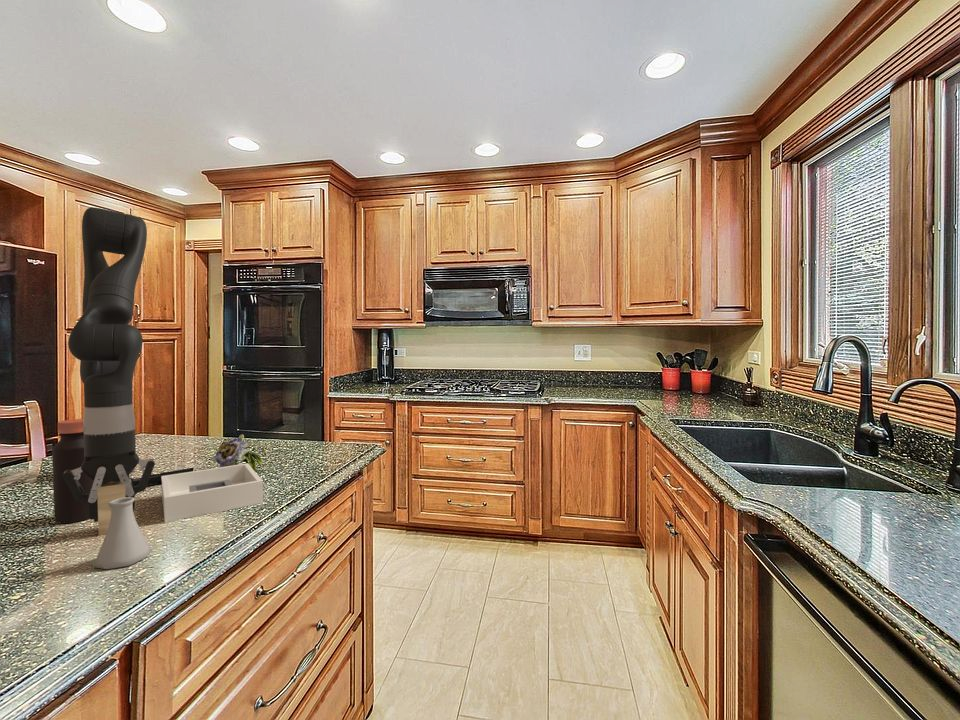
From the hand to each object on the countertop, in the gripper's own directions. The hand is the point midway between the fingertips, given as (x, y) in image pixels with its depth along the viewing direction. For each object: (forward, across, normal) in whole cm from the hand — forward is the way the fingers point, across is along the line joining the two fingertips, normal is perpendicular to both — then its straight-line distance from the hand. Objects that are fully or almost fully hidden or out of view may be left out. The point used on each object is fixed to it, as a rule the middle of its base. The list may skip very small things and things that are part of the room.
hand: (112, 517), depth 84 cm
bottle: (+3, +6, -12) cm, 14 cm away
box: (+2, -17, -7) cm, 19 cm away
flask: (+3, -2, +16) cm, 16 cm away
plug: (+2, 0, 0) cm, 2 cm away
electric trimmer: (+3, -7, -29) cm, 30 cm away
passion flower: (+3, -26, -30) cm, 40 cm away
